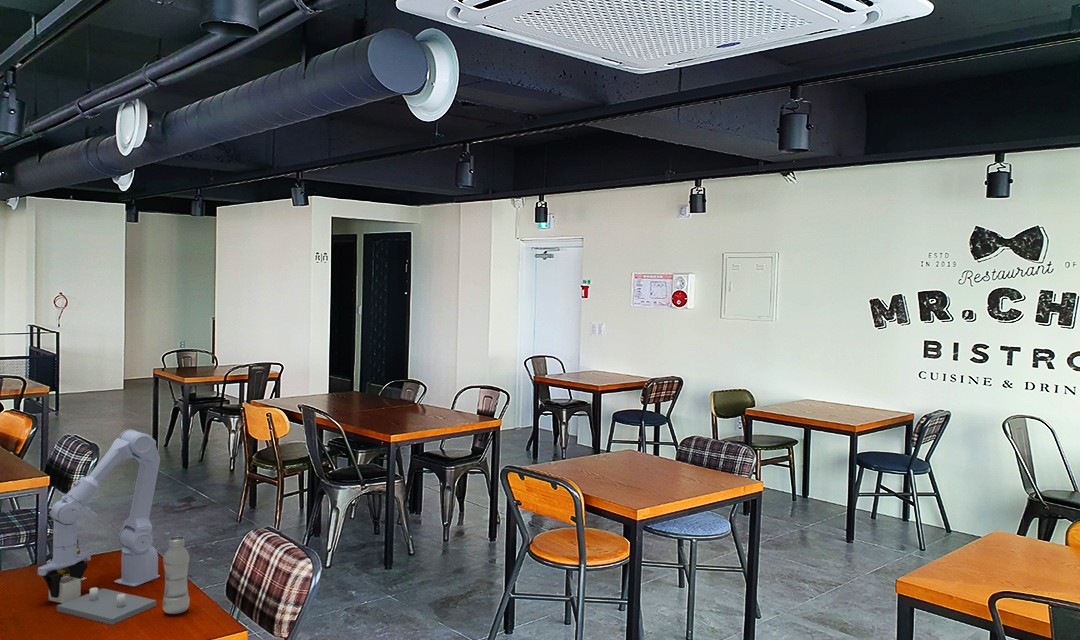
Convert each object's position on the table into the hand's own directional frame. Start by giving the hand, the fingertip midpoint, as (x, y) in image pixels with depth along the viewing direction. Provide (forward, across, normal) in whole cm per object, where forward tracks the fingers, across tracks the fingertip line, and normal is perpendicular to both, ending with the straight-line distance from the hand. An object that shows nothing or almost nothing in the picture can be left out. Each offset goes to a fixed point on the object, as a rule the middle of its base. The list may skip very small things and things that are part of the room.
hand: (64, 593), depth 226 cm
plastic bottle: (+2, -6, +34) cm, 35 cm away
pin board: (+1, 0, +16) cm, 16 cm away
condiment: (+2, -10, -12) cm, 16 cm away
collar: (+1, 0, 0) cm, 1 cm away
